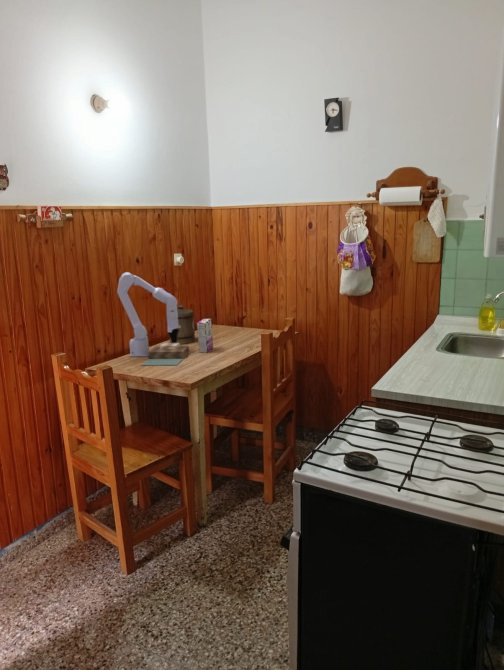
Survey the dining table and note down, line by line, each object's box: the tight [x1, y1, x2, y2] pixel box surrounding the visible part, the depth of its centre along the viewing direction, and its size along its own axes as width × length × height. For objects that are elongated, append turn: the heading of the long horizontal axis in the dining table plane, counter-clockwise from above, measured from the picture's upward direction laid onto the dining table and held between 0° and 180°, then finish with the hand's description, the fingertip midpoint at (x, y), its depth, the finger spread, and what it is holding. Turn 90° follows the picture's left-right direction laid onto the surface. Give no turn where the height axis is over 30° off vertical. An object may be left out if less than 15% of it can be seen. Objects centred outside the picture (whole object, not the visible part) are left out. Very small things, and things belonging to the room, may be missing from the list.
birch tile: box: [159, 342, 181, 350], centre depth 252 cm, size 9×6×2 cm, turn 83°
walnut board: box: [148, 345, 190, 360], centre depth 250 cm, size 18×12×4 cm, turn 83°
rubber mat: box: [141, 358, 184, 367], centre depth 239 cm, size 18×11×1 cm, turn 83°
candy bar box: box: [196, 318, 214, 354], centre depth 259 cm, size 11×5×16 cm, turn 168°
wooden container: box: [168, 304, 196, 345], centre depth 282 cm, size 15×15×22 cm
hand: (174, 342), depth 260 cm, fingers closed
